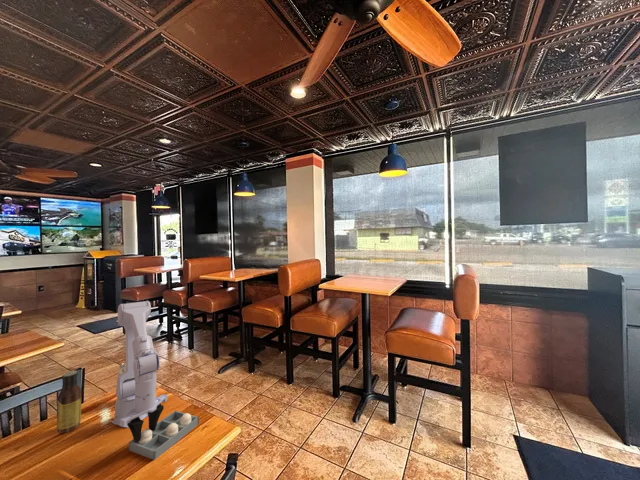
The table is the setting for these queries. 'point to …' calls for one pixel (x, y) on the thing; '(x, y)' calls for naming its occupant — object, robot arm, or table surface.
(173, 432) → the egg
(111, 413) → the table surface
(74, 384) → the sauce bottle
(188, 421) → the egg
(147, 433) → the egg
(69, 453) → the table surface
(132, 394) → the robot arm
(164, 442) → the carton
